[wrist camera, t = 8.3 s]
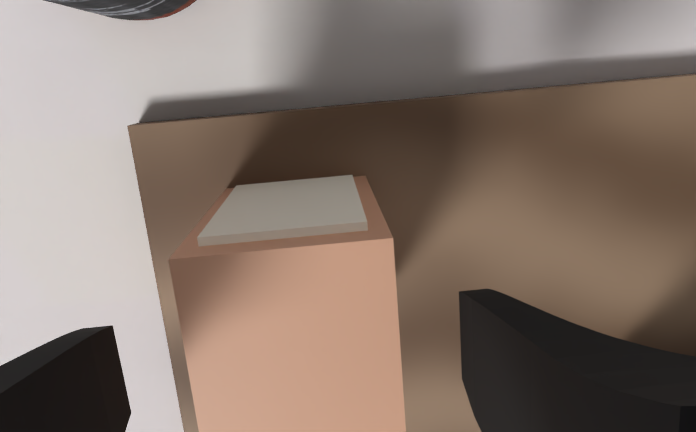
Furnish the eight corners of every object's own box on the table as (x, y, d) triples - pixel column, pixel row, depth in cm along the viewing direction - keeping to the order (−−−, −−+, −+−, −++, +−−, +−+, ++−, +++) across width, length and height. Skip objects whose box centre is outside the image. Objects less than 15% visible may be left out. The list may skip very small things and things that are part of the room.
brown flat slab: (763, 503, 23) (826, 565, 20) (217, 563, 23) (201, 636, 20) (819, 62, 19) (912, 60, 16) (137, 122, 18) (102, 132, 15)
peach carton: (375, 303, 19) (406, 431, 12) (245, 316, 19) (202, 452, 12) (365, 169, 18) (392, 228, 11) (225, 182, 18) (166, 249, 11)
